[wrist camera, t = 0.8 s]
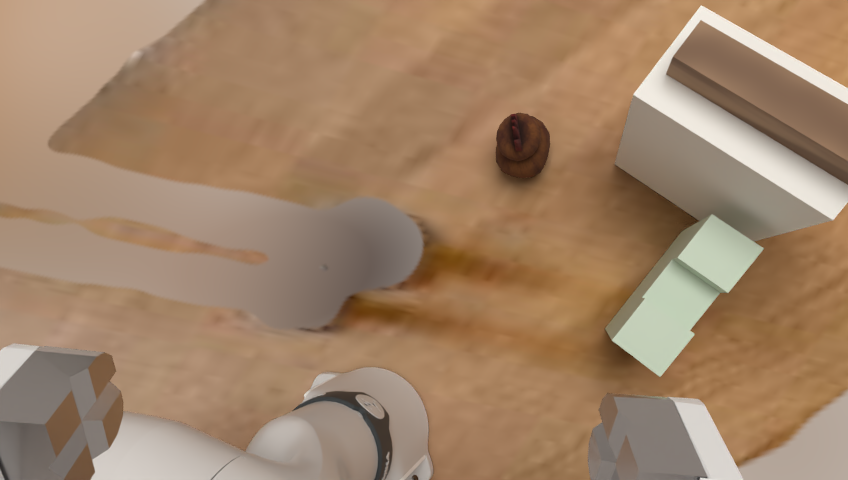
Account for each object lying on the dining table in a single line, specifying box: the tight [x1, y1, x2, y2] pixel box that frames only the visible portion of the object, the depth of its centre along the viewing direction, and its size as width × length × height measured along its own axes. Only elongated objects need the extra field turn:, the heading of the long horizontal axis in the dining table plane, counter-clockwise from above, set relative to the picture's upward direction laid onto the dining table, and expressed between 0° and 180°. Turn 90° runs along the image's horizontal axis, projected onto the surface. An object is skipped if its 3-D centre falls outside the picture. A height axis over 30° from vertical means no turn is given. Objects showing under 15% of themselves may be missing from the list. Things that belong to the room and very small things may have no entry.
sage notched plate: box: [605, 214, 764, 377], centre depth 60 cm, size 14×5×16 cm, turn 142°
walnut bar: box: [666, 20, 848, 185], centre depth 39 cm, size 3×24×4 cm, turn 52°
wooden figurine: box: [496, 113, 550, 178], centre depth 65 cm, size 7×6×15 cm
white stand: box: [615, 6, 848, 242], centre depth 55 cm, size 8×16×26 cm, turn 52°
